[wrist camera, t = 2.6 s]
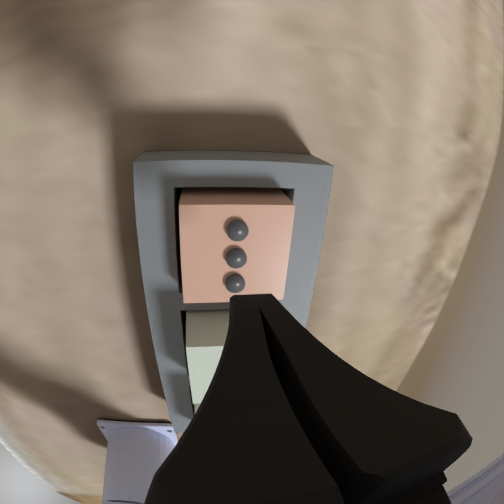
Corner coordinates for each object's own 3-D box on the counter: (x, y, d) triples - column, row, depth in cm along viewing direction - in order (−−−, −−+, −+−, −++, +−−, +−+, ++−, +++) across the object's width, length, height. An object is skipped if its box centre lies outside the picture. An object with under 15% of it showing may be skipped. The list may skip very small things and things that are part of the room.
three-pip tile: (266, 260, 18) (284, 302, 15) (185, 262, 18) (183, 305, 14) (273, 181, 16) (296, 207, 13) (183, 181, 15) (178, 206, 12)
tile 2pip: (261, 352, 20) (274, 400, 17) (191, 356, 19) (192, 406, 16) (268, 295, 18) (285, 344, 14) (186, 298, 17) (185, 350, 14)
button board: (273, 399, 26) (281, 425, 23) (174, 404, 24) (174, 432, 21) (311, 155, 16) (333, 165, 13) (144, 151, 15) (132, 162, 12)
